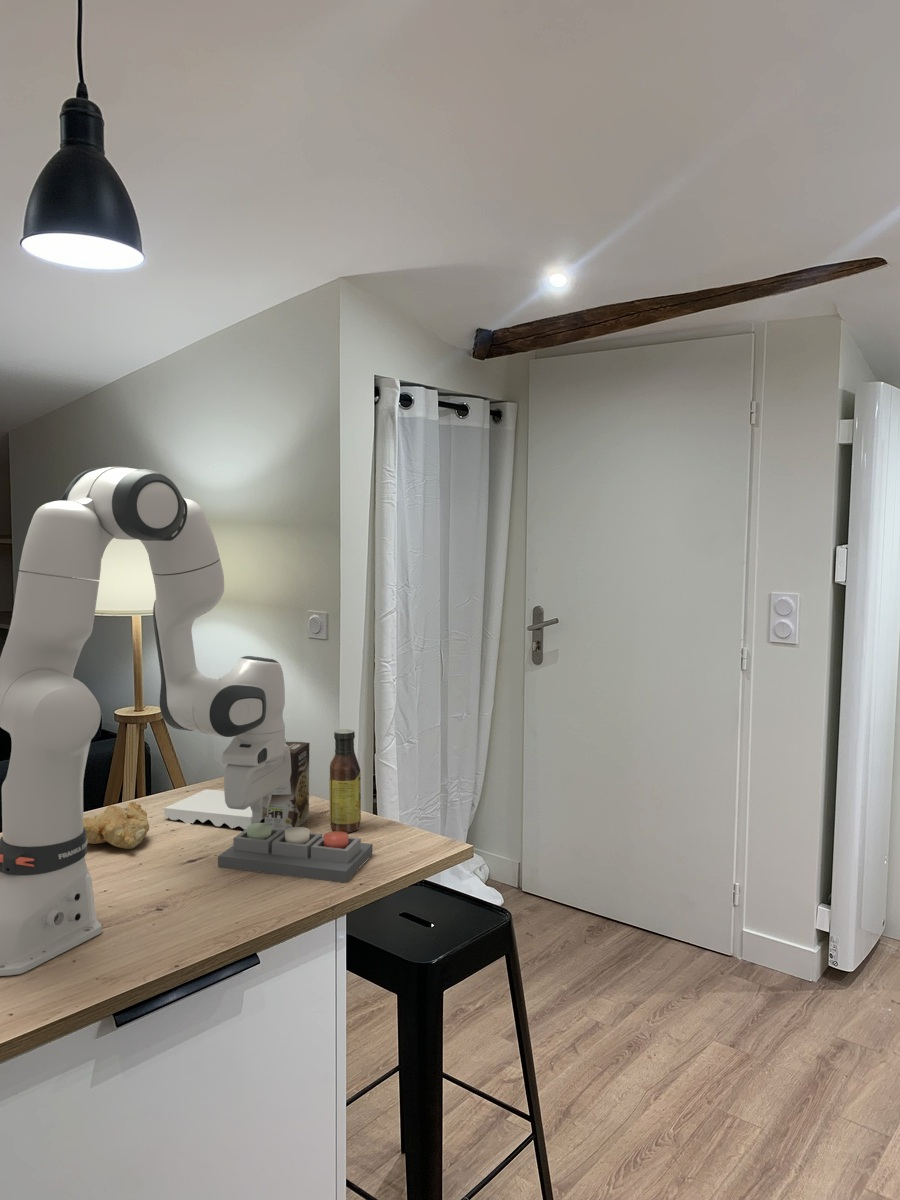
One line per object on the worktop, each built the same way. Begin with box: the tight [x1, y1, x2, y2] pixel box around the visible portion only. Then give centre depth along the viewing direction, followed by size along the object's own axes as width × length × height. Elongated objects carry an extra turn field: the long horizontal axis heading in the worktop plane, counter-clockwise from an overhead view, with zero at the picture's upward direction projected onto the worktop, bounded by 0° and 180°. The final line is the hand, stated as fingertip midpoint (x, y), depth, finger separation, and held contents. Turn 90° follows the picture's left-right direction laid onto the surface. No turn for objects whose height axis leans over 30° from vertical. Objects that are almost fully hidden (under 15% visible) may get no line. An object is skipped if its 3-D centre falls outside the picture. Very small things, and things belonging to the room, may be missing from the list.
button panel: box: [217, 828, 373, 884], centre depth 167 cm, size 14×24×4 cm, turn 76°
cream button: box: [284, 826, 311, 844], centre depth 166 cm, size 4×4×2 cm
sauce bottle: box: [328, 728, 362, 834], centre depth 184 cm, size 6×6×20 cm
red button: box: [323, 830, 350, 849], centre depth 165 cm, size 4×4×2 cm
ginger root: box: [83, 801, 150, 850], centre depth 174 cm, size 16×16×8 cm
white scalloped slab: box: [163, 788, 262, 830], centre depth 191 cm, size 15×3×20 cm
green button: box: [247, 822, 271, 840], centre depth 168 cm, size 4×4×2 cm
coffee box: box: [264, 741, 310, 832], centre depth 186 cm, size 9×6×16 cm
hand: (260, 818), depth 168 cm, fingers closed
